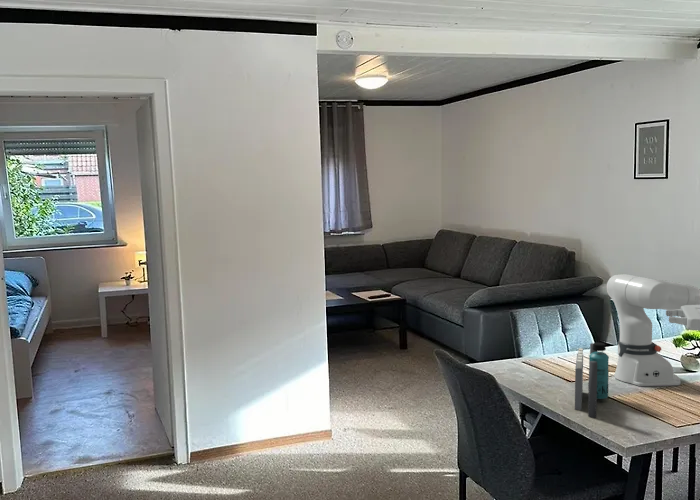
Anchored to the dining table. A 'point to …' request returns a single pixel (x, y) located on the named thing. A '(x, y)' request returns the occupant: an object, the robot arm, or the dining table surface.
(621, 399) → the dining table surface
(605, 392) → the beverage bottle
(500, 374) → the dining table surface
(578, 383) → the breaker panel
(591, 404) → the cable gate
